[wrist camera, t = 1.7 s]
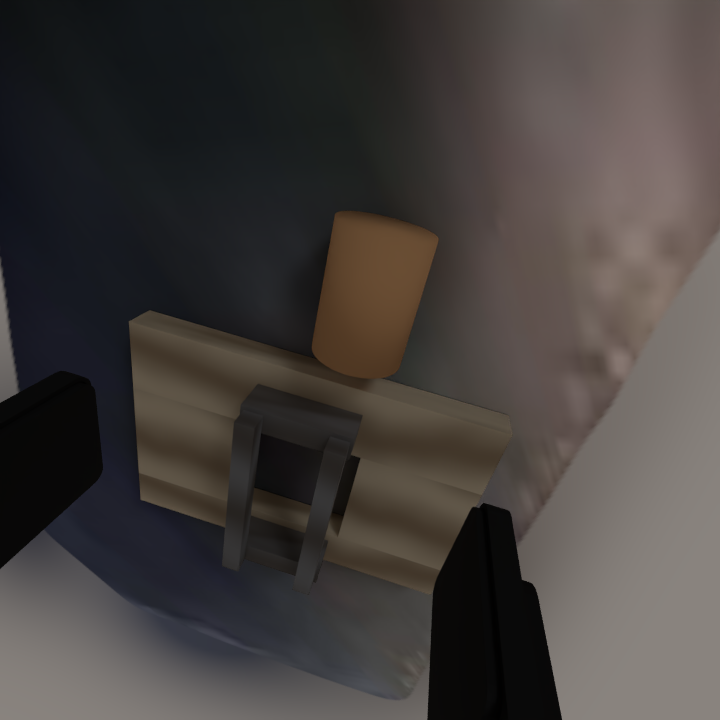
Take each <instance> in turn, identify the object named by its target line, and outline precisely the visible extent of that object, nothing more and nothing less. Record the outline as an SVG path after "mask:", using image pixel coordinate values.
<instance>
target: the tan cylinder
mask: <svg viewBox="0 0 720 720" xmlns="http://www.w3.org/2000/svg"><path fill="white" fill-rule="evenodd" d="M438 241H439V238H438V237H437V236H436V235H435V234H433V233H432V232H430V231H428V230H426V229H424V228H422V227H419V226H417V225H414V224H411V223H408V222H405V221H402V220H398V219H394V218H390V217H387V216H383V215H378V214H373V213H367V212H358V211H340V212H337V213H336V214H335V218H334V224H333V229H332V235H331V240H330V246H329V251H328V257H327V263H326V268H325V274H324V279H323V285H322V291H321V296H320V302H319V307H318V313H317V319H316V324H315V330H314V335H313V341H312V351H313V354H314V355H315V357H316V358H317V359H318V360H319V361H320V362H321V363H322V364H324V365H325V366H327V367H329V368H330V369H332V370H335V371H337V372H339V373H342V374H345V375H348V376H353V377H358V378H366V379H376V378H384V377H387V376H390V375H392V374H394V373H395V372H397V371H398V369H399V367H400V364H401V361H402V358H403V355H404V351H405V348H406V345H407V342H408V338H409V335H410V332H411V329H412V325H413V322H414V319H415V316H416V312H417V309H418V306H419V302H420V299H421V296H422V293H423V289H424V286H425V283H426V280H427V276H428V273H429V270H430V267H431V263H432V260H433V257H434V254H435V250H436V247H437V244H438Z"/></svg>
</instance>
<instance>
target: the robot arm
mask: <svg viewBox="0 0 720 720" xmlns="http://www.w3.org/2000/svg"><path fill="white" fill-rule="evenodd" d="M102 470H103V463H102V453H101V443H100V434H99V424H98V415H97V405H96V395H95V389H94V388H93V386H91V383H90V381H89V379H87V378H85V377H82V376H79V375H76V374H72V373H69V372H66V371H59V372H57V373H54V374H53V375H51V376H49V377H47V378H45V379H43V380H42V381H40V382H38V383H36V384H34V385H32V386H30V387H29V388H27V389H25V390H23V391H21V392H19V393H18V394H16V395H14V396H12V397H10V398H8V399H7V400H5V401H3V402H1V403H0V569H1V568H2V567H3V566H4V565H5V564H6V563H7V562H8V561H9V560H10V559H11V558H13V557H14V556H15V555H16V554H17V553H18V552H19V551H20V550H21V549H23V548H24V547H25V546H26V545H27V544H28V543H29V542H30V541H31V540H33V539H34V538H35V537H36V536H37V535H38V534H39V533H40V532H41V531H42V530H44V529H45V528H46V527H47V526H48V525H49V524H50V523H51V522H52V521H53V520H55V519H56V518H57V517H58V516H59V515H60V514H61V513H62V512H63V511H64V510H66V509H67V508H68V507H69V506H70V505H71V504H72V503H73V502H74V501H75V500H77V499H78V498H79V497H80V496H81V495H82V494H83V493H84V492H85V491H86V490H88V489H89V488H90V487H91V486H92V485H93V484H94V483H95V482H96V481H97V480H98V479H99V477H100V475H101V473H102ZM428 697H429V698H428V719H427V720H562V717H561V712H560V707H559V702H558V697H557V692H556V686H555V681H554V676H553V671H552V666H551V661H550V656H549V650H548V646H547V640H546V635H545V630H544V625H543V620H542V615H541V610H540V604H539V599H538V595H537V592H536V589H535V587H534V586H533V584H532V583H529V582H527V581H524V580H522V578H521V572H520V566H519V560H518V554H517V548H516V541H515V535H514V529H513V523H512V517H511V514H510V512H509V511H508V510H505V509H502V508H499V507H495V506H492V505H489V504H486V503H483V504H482V505H481V506H480V508H477V507H472V508H471V510H470V512H469V514H468V516H467V518H466V520H465V522H464V524H463V526H462V528H461V530H460V532H459V534H458V536H457V538H456V540H455V542H454V544H453V546H452V548H451V550H450V552H449V554H448V556H447V558H446V560H445V562H444V564H443V566H442V568H441V570H440V572H439V574H438V576H437V578H436V581H435V585H434V590H433V605H432V628H431V650H430V673H429V696H428Z"/></svg>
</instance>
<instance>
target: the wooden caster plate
mask: <svg viewBox="0 0 720 720" xmlns="http://www.w3.org/2000/svg"><path fill="white" fill-rule="evenodd" d="M129 329H130V344H131V359H132V374H133V389H134V404H135V419H136V434H137V450H138V465H139V480H140V495H141V500H143V501H146V502H149V503H153V504H156V505H159V506H162V507H165V508H168V509H171V510H174V511H177V512H180V513H183V514H186V515H189V516H192V517H195V518H198V519H201V520H204V521H207V522H210V523H213V524H216V525H220V526H223V527H225V536H224V548H223V561H222V566H223V567H226V568H229V569H232V570H235V571H239V569H240V567H241V565H242V563H243V561H244V559H246V560H249V561H252V562H255V563H258V564H261V565H264V566H267V567H270V568H273V569H276V570H279V571H282V572H285V573H288V574H291V575H294V576H295V580H294V585H293V589H292V590H295V591H298V592H301V593H304V594H307V595H309V593H310V590H311V587H312V584H313V582H315V583H316V581H317V578H318V574H319V571H320V568H321V565H322V562H323V560H326V561H329V562H332V563H335V564H338V565H341V566H344V567H347V568H350V569H353V570H357V571H360V572H363V573H366V574H369V575H372V576H375V577H378V578H381V579H384V580H387V581H390V582H393V583H396V584H399V585H402V586H405V587H408V588H411V589H414V590H417V591H420V592H423V593H427V594H430V595H431V593H432V591H433V589H434V585H435V581H436V578H437V576H438V574H439V572H440V570H441V568H442V566H443V564H444V562H445V560H446V558H447V556H448V554H449V552H450V550H451V548H452V546H453V544H454V542H455V540H456V538H457V536H458V534H459V532H460V530H461V528H462V526H463V524H464V522H465V520H466V518H467V516H468V514H469V512H470V510H471V508H472V507H476V506H477V504H478V502H479V500H480V498H481V496H482V494H483V492H484V490H485V488H486V486H487V484H488V482H489V480H490V478H491V476H492V475H493V473H494V471H495V469H496V467H497V465H498V463H499V461H500V459H501V457H502V455H503V453H504V451H505V449H506V447H507V445H508V443H509V441H510V439H511V438H512V436H513V434H512V429H511V425H510V420H509V415H505V414H502V413H498V412H495V411H492V410H488V409H485V408H481V407H478V406H475V405H471V404H468V403H464V402H461V401H458V400H454V399H451V398H447V397H444V396H440V395H437V394H434V393H430V392H427V391H423V390H420V389H417V388H413V387H410V386H406V385H403V384H400V383H396V382H393V381H389V380H386V379H382V378H376V379H366V378H358V377H353V376H348V375H345V374H342V373H339V372H337V371H335V370H332V369H330V368H329V367H327V366H325V365H324V364H322V363H321V362H320V361H319V360H318V359H314V358H311V357H307V356H304V355H301V354H297V353H294V352H290V351H287V350H284V349H280V348H277V347H273V346H270V345H266V344H263V343H260V342H256V341H253V340H249V339H246V338H243V337H239V336H236V335H232V334H229V333H226V332H222V331H219V330H215V329H212V328H208V327H205V326H202V325H198V324H195V323H191V322H188V321H185V320H181V319H178V318H174V317H171V316H168V315H164V314H161V313H157V312H154V311H150V310H149V311H148V312H146V313H144V314H142V315H140V316H138V317H136V318H135V319H133V320H131V321H129ZM261 433H262V434H265V435H268V436H272V437H275V438H278V439H281V440H284V441H288V442H291V443H294V444H297V445H301V446H304V447H307V448H310V449H314V450H317V451H320V452H323V458H322V462H321V466H320V471H319V475H318V479H317V484H316V488H315V493H314V497H313V501H312V506H311V505H307V504H304V503H301V502H298V501H295V500H292V499H289V498H286V497H282V496H279V495H276V494H273V493H270V492H267V491H264V490H260V489H257V488H254V486H255V478H256V470H257V462H258V454H259V446H260V438H261ZM351 455H353V456H356V457H359V458H361V459H360V463H359V466H358V469H357V473H356V476H355V480H354V483H353V487H352V490H351V494H350V497H349V500H348V504H347V507H346V511H345V514H344V516H342V515H339V514H336V513H332V509H333V506H334V502H335V498H336V494H337V491H338V487H339V483H340V479H341V476H342V472H343V468H344V464H345V461H346V460H349V459H350V456H351Z"/></svg>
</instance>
